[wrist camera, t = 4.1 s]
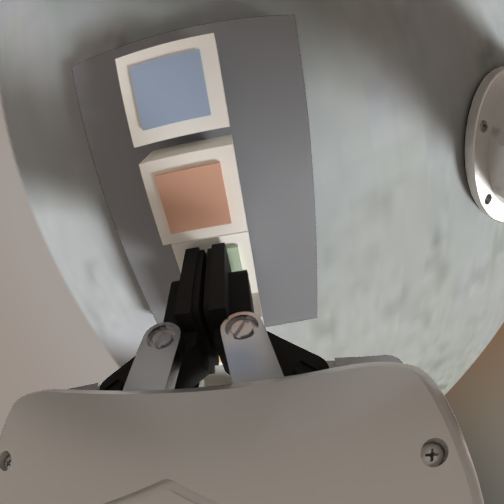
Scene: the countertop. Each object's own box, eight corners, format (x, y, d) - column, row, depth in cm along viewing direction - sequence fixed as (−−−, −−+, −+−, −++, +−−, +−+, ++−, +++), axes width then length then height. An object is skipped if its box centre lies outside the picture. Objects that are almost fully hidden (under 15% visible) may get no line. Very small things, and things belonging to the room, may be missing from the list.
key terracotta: (160, 143, 12) (137, 166, 9) (231, 128, 12) (233, 145, 9) (176, 206, 14) (162, 248, 11) (242, 194, 14) (248, 233, 10)
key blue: (144, 65, 10) (112, 58, 7) (217, 47, 10) (213, 31, 7) (157, 130, 12) (132, 149, 8) (228, 115, 12) (229, 127, 8)
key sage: (182, 209, 15) (170, 247, 12) (242, 198, 15) (248, 234, 12) (196, 260, 17) (190, 305, 13) (251, 251, 17) (258, 295, 13)
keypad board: (89, 67, 11) (71, 66, 9) (285, 23, 11) (294, 14, 9) (169, 319, 20) (165, 339, 18) (309, 297, 20) (317, 317, 18)
